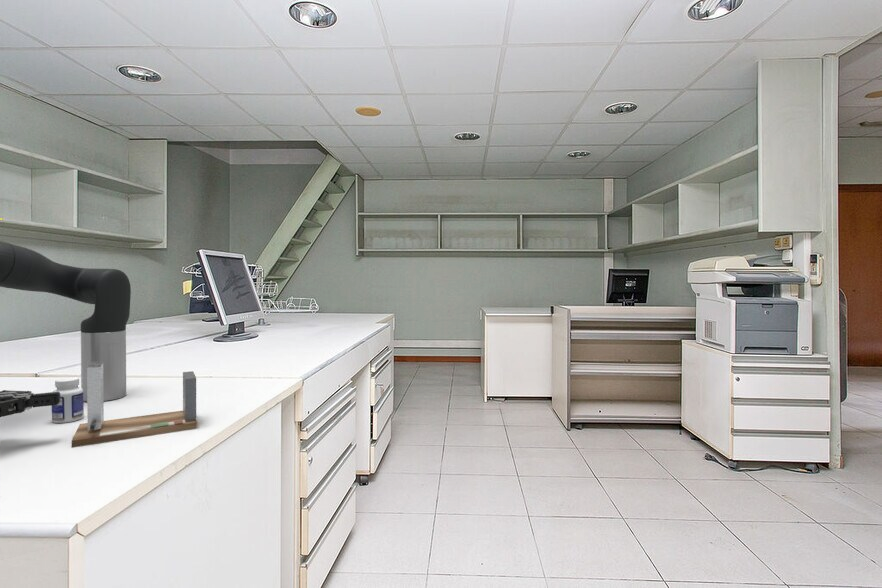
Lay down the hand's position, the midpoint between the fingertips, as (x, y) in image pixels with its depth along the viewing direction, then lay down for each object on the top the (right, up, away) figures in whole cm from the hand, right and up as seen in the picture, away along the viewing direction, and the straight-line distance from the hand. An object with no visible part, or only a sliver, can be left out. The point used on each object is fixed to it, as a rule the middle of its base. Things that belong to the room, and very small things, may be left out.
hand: (59, 397), depth 83 cm
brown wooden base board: (+10, -8, +7) cm, 15 cm away
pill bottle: (-9, -8, +12) cm, 17 cm away
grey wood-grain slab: (+18, -7, +12) cm, 22 cm away
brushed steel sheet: (+5, -6, +2) cm, 8 cm away
